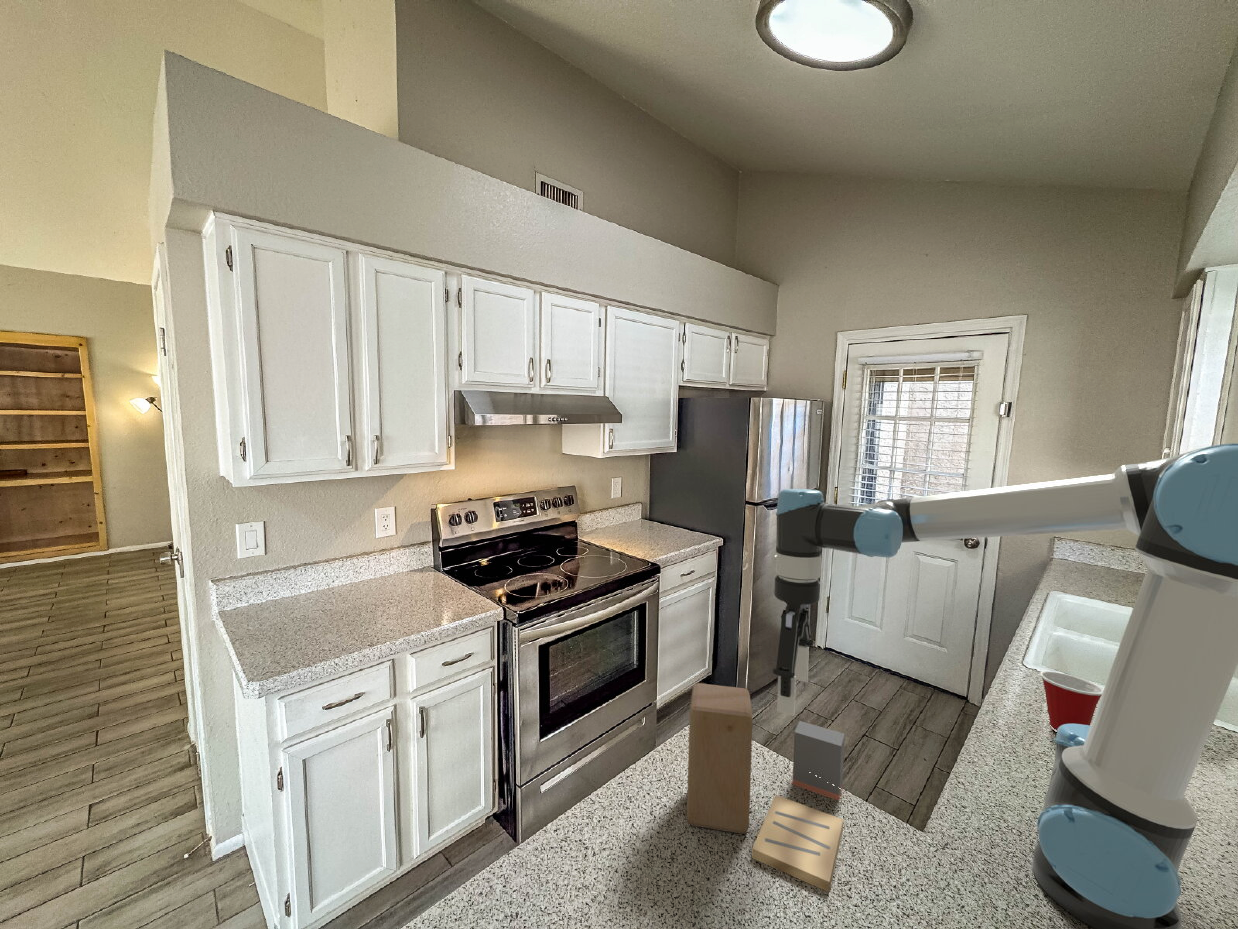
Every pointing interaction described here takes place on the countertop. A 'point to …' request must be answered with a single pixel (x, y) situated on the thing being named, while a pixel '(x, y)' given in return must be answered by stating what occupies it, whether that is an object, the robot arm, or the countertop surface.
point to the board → (799, 842)
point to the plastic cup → (1070, 698)
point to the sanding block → (818, 759)
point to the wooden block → (719, 758)
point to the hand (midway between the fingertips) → (793, 695)
